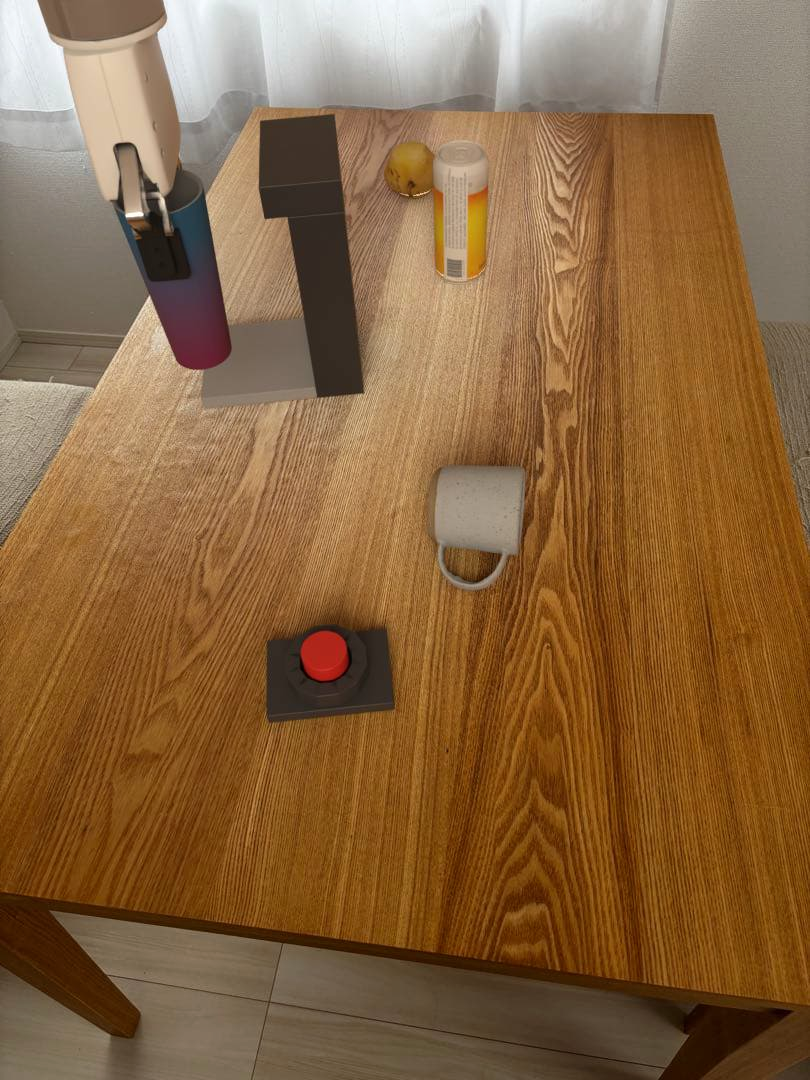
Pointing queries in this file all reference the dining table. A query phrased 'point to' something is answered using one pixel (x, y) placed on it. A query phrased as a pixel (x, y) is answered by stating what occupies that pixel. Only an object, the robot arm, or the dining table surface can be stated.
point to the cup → (193, 302)
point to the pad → (347, 694)
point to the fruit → (410, 169)
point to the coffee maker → (299, 279)
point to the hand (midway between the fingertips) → (173, 251)
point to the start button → (324, 656)
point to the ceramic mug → (476, 513)
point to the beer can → (460, 210)
